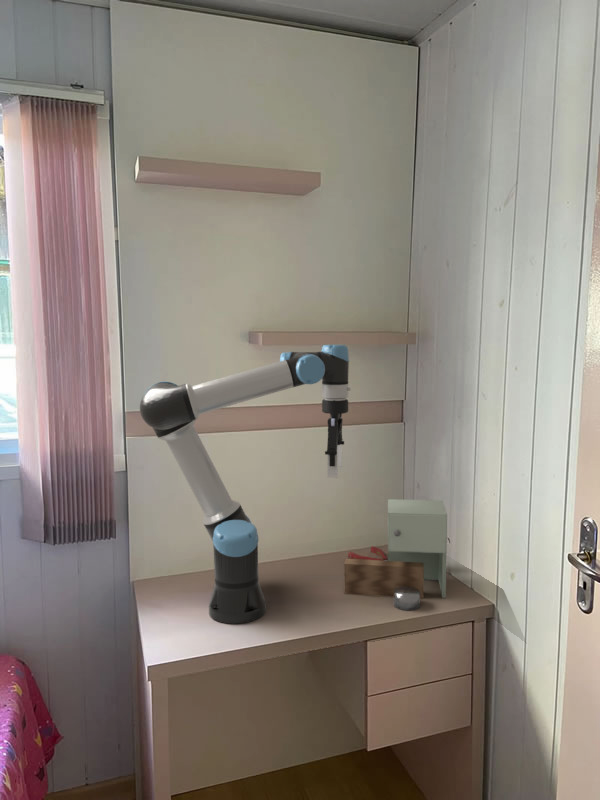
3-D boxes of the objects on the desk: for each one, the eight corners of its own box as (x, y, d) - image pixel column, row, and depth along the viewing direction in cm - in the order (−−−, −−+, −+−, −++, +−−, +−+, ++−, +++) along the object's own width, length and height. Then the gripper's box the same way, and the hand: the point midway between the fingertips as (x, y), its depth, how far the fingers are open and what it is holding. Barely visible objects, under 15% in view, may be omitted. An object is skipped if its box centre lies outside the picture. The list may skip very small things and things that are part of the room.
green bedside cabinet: (387, 598, 180) (388, 514, 178) (387, 576, 196) (388, 499, 193) (446, 600, 178) (447, 516, 175) (441, 578, 194) (442, 500, 191)
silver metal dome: (396, 611, 172) (396, 597, 172) (391, 600, 179) (391, 586, 179) (422, 610, 172) (422, 596, 172) (417, 599, 179) (417, 585, 179)
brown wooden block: (344, 594, 184) (344, 563, 183) (345, 588, 188) (345, 558, 187) (423, 599, 180) (423, 567, 179) (423, 593, 184) (423, 562, 183)
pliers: (385, 579, 195) (385, 570, 195) (346, 559, 212) (346, 551, 212) (414, 571, 201) (414, 562, 201) (373, 552, 218) (373, 544, 218)
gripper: (344, 404, 172) (344, 482, 174) (351, 394, 196) (351, 462, 199) (316, 403, 173) (316, 481, 175) (326, 393, 197) (326, 462, 200)
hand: (334, 471), depth 187 cm, fingers open, 13 cm apart
